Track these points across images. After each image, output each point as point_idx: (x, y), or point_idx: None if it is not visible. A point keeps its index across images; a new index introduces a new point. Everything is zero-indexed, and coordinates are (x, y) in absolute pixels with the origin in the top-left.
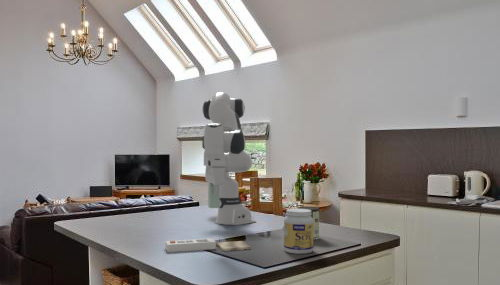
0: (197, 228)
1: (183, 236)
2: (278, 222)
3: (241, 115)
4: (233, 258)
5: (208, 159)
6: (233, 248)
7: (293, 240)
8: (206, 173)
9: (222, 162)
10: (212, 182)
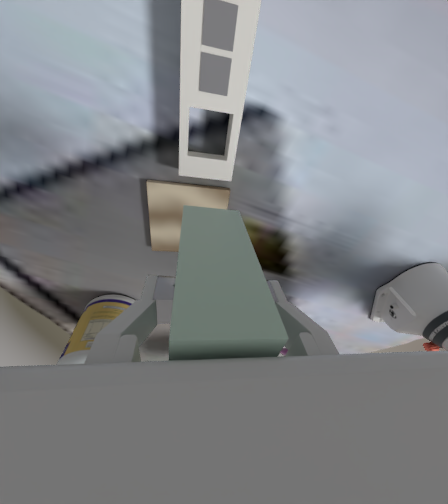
0: (433, 208)
1: (388, 131)
2: (338, 340)
3: None
4: (50, 175)
5: None
6: (149, 210)
7: (80, 320)
8: None
9: None
10: (21, 391)
